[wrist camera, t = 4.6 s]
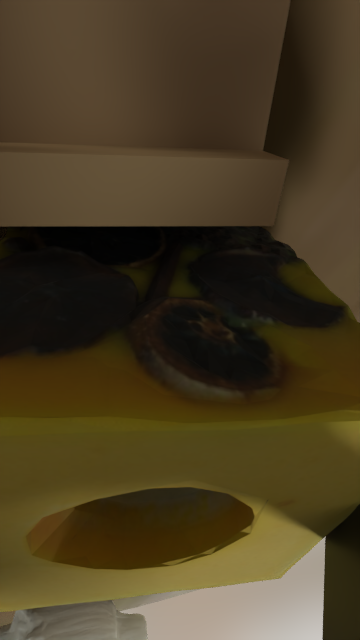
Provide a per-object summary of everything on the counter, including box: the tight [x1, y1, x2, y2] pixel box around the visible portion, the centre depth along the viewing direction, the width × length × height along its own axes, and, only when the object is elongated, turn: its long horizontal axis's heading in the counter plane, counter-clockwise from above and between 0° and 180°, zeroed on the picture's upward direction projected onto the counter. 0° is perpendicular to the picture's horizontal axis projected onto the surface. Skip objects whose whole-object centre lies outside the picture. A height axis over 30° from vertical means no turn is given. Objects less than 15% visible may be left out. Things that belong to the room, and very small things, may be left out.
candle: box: [0, 226, 360, 612], centre depth 11 cm, size 10×10×10 cm
